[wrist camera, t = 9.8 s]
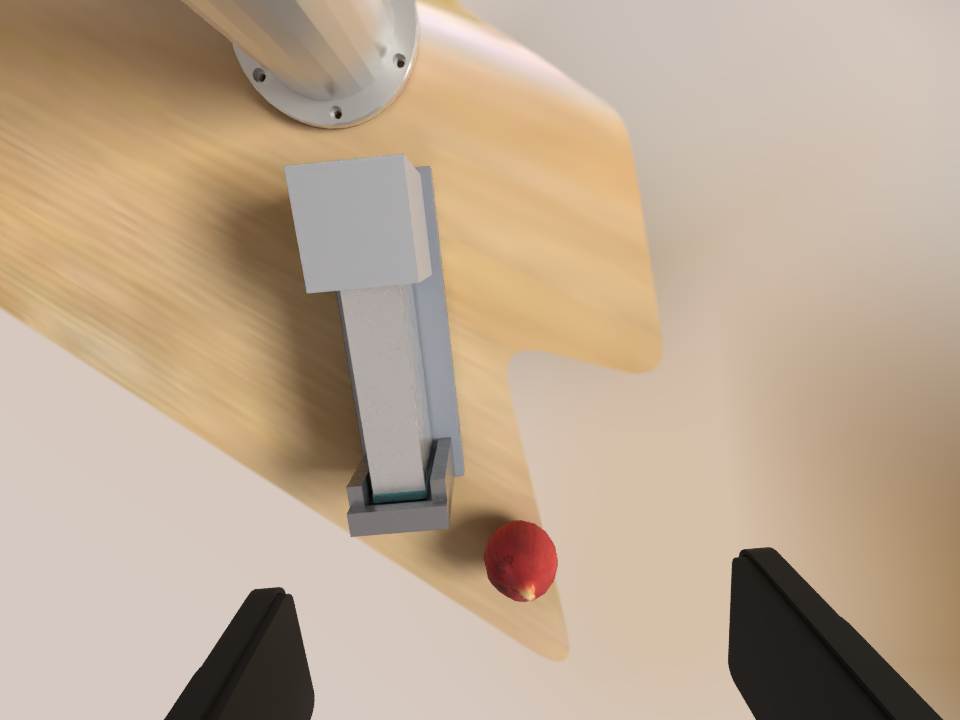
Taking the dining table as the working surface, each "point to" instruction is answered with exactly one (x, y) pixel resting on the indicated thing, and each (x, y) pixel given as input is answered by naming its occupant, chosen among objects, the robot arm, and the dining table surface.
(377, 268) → the board
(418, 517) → the socket
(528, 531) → the onion
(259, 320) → the dining table surface
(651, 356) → the dining table surface
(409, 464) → the grey rectangular block
